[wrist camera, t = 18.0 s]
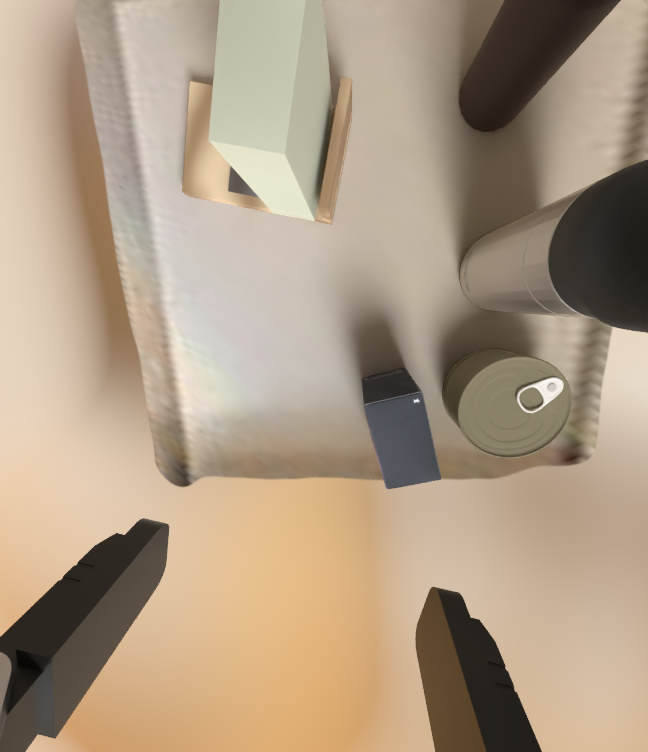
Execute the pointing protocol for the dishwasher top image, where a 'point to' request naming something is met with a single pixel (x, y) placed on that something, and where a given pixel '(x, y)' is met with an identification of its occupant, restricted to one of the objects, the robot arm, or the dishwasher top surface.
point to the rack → (223, 184)
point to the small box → (400, 429)
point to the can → (507, 402)
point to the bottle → (524, 55)
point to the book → (273, 99)
